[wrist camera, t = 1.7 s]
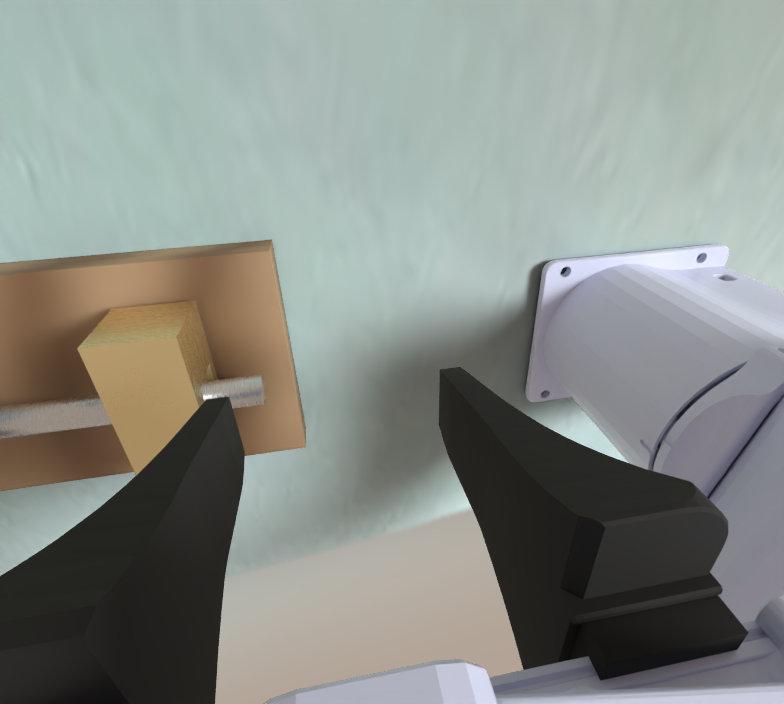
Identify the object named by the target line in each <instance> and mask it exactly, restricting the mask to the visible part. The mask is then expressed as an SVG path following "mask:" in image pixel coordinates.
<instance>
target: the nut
mask: <svg viewBox="0 0 784 704" xmlns="http://www.w3.org/2000/svg"><path fill="white" fill-rule="evenodd" d="M77 349H78V351H79V354H80V356H81V358H82V360H83V362H84V364H85V367H86V369H87V371H88V373H89V375H90V377H91V379H92V382H93V384H94V386H95V388H96V390H97V392H98V394H99V397H100V399H101V401H102V403H103V405H104V407H105V410H106V412H107V414H108V416H109V418H110V420H111V422H112V425H113V427H114V429H115V431H116V433H117V435H118V438H119V440H120V442H121V444H122V446H123V448H124V450H125V453H126V455H127V457H128V459H129V461H130V463H131V466H132V468H133V470H134V472H135V474H136V475H137V474H139V472H140V471H141V470H142V469H143V468H144V467H145V466H146V465H147V464H148V463H149V462H150V461H151V460H152V459H153V458H154V457H155V456H156V455H157V454H158V453H159V452H160V451H161V450H162V449H163V448H164V447H165V446H166V445H167V444H168V443H169V442H170V440H171V439H172V438H173V437H174V436H175V435H176V434H177V433H178V431H179V430H180V429H181V428H182V427H183V426H184V425H185V423H186V422H187V421H188V420H189V419H190V418H191V416H192V415H193V414H194V413H195V412H196V411H197V410H198V408H199V407H200V406H201V405H202V404H203V403H204V402H205V401H204V398H203V395H202V392H201V385H202V382H205V381H213V380H218V377H217V373H216V370H215V366H214V363H213V360H212V356H211V353H210V349H209V346H208V342H207V339H206V335H205V332H204V328H203V325H202V321H201V318H200V315H199V311H198V308H197V304H196V301H186V302H176V303H166V304H156V305H146V306H136V307H126V308H116V309H111V311H110V312H109V313H108V314H107V315H106V316H105V317H104V319H103V320H102V321H101V322H100V323H99V324H98V325H97V326H96V328H95V329H94V330H93V331H92V332H91V333H90V334H89V336H88V337H87V338H86V339H85V340H84V341H83V342H82V343H81V345H80V346H79V347H78V348H77Z"/></svg>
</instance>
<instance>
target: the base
mask: <svg viewBox="0 0 784 704" xmlns="http://www.w3.org/2000/svg"><path fill="white" fill-rule="evenodd" d="M186 301H196V304H197V308H198V311H199V315H200V318H201V321H202V325H203V328H204V332H205V335H206V339H207V342H208V346H209V349H210V353H211V356H212V360H213V363H214V366H215V370H216V373H217V377H218V380H213V381H205V382H202V385H201V392H202V395H203V398H204V401H205V400H206V399H214V398H222V397H229V398H230V401H231V405H232V408H233V412H234V415H235V419H236V423H237V426H238V430H239V433H240V437H241V440H242V444H243V447H244V451H245V456H247V455H254V454H261V453H268V452H275V451H282V450H289V449H296V448H303V447H306V427H305V422H304V416H303V411H302V405H301V399H300V394H299V388H298V383H297V377H296V372H295V366H294V361H293V355H292V349H291V344H290V338H289V333H288V327H287V322H286V316H285V311H284V305H283V299H282V294H281V288H280V283H279V277H278V272H277V266H276V261H275V255H274V249H273V244H272V240H265V241H253V242H242V243H230V244H219V245H207V246H196V247H184V248H173V249H161V250H149V251H138V252H126V253H115V254H103V255H92V256H80V257H68V258H57V259H45V260H34V261H22V262H11V263H0V491H4V490H11V489H18V488H25V487H31V486H38V485H45V484H52V483H59V482H66V481H73V480H80V479H87V478H94V477H101V476H108V475H115V474H122V473H129V472H134V470H133V468H132V466H131V463H130V461H129V459H128V457H127V455H126V453H125V450H124V448H123V446H122V444H121V442H120V440H119V438H118V435H117V433H116V431H115V429H114V427H113V425H112V422H111V420H110V418H109V416H108V414H107V412H106V410H105V407H104V405H103V403H102V401H101V399H100V397H99V394H98V392H97V390H96V388H95V386H94V384H93V382H92V379H91V377H90V375H89V373H88V371H87V369H86V367H85V364H84V362H83V360H82V358H81V356H80V354H79V351H78V349H77V348H78V347H79V346H80V345H81V343H82V342H83V341H84V340H85V339H86V338H87V337H88V336H89V334H90V333H91V332H92V331H93V330H94V329H95V328H96V326H97V325H98V324H99V323H100V322H101V321H102V320H103V319H104V317H105V316H106V315H107V314H108V313H109V312H110V311H111V309H116V308H126V307H136V306H146V305H156V304H166V303H176V302H186Z"/></svg>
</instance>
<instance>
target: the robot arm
mask: <svg viewBox="0 0 784 704" xmlns="http://www.w3.org/2000/svg"><path fill="white" fill-rule="evenodd" d="M699 255H700V257H699V258H698V259H697V257H698V256H699ZM728 255H729V249H728V247H727V246H724V245H722V244H712V245H702V246H692V247H682V248H672V249H662V250H652V251H642V252H632V253H622V254H612V255H602V256H592V257H582V258H572V259H562V260H553V261H550V262H548V263H547V264H546V265H545V266H544V267H543V270H542V276H541V283H540V290H539V298H538V305H537V312H536V319H535V326H534V334H533V341H532V348H531V355H530V362H529V370H528V377H527V384H526V391H525V396H526V397H527V398H528V400H529V401H530V402H541V401H548V400H555V399H563V398H570V397H572V398H573V399H574V400H575V401H576V403H577V404H578V405H579V406H580V407H581V408H582V410H583V411H584V412H585V413H586V414H587V415H588V416H589V418H590V419H591V420H592V421H593V422H594V423H595V424H596V426H597V427H598V428H599V429H600V430H601V431H602V432H603V434H604V435H605V436H606V437H607V438H608V439H609V441H610V442H611V443H612V444H613V445H614V446H615V447H616V449H617V450H618V451H619V452H620V453H621V454H622V455H623V457H624V458H625V459H626V460H627V461H628V462H629V463H627V462H624V461H621V460H618V459H615V458H613V457H610V456H607V455H605V454H602V453H600V452H597V451H595V450H593V449H590V448H588V447H586V446H583V445H581V444H579V443H577V442H574V441H572V440H570V439H568V438H566V437H564V436H562V435H560V434H558V433H556V432H555V431H553V430H551V429H549V428H547V427H545V426H543V425H542V424H540V423H538V422H536V421H535V420H533V419H532V418H530V417H528V416H527V415H525V414H524V413H522V412H520V411H519V410H517V409H516V408H514V407H513V406H511V405H510V404H508V403H507V402H506V401H504V400H503V399H501V398H500V397H499V396H497V395H496V394H495V393H493V392H492V391H491V390H489V389H488V388H487V387H485V386H484V385H483V384H481V383H480V382H479V381H478V380H476V379H475V378H474V377H472V376H471V375H470V374H469V373H467V372H466V371H465V370H463V369H462V368H461V367H457V368H449V369H441V370H440V395H439V426H440V430H441V433H442V437H443V440H444V443H445V447H446V450H447V453H448V455H449V458H450V460H451V462H452V465H453V467H454V469H455V471H456V474H457V476H458V478H459V480H460V483H461V485H462V487H463V489H464V491H465V494H466V496H467V498H468V500H469V502H470V505H471V507H472V509H473V511H474V514H475V516H476V518H477V521H478V523H479V526H480V528H481V531H482V534H483V537H484V539H485V543H486V546H487V549H488V552H489V554H490V558H491V561H492V564H493V567H494V570H495V574H496V577H497V580H498V583H499V586H500V590H501V593H502V596H503V599H504V603H505V606H506V609H507V612H508V616H509V620H510V623H511V627H512V630H513V633H514V637H515V640H516V644H517V648H518V651H519V655H520V659H521V662H522V665H523V669H524V670H521V671H517V672H512V673H508V674H504V675H498V676H494V677H488V674H487V672H486V670H485V669H484V668H482V667H481V666H479V665H476V664H473V663H470V662H467V661H464V660H461V659H457V660H442V661H432V662H427V663H422V664H417V665H413V666H408V667H403V668H398V669H393V670H389V671H384V672H379V673H374V674H369V675H365V676H360V677H356V678H350V679H346V680H341V681H336V682H331V683H326V684H322V685H317V686H313V687H308V688H303V689H298V690H295V691H292V692H289V693H286V694H283V695H280V696H277V697H274V698H272V699H269V700H268V701H267V702H265V703H264V704H784V292H783V291H781V290H779V289H776V288H774V287H771V286H769V285H767V284H764V283H762V282H760V281H757V280H755V279H752V278H750V277H748V276H745V275H743V274H741V273H738V272H736V271H733V270H731V269H729V268H726V267H724V266H725V264H726V261H727V258H728ZM564 267H567V270H566V272H565V273H564V274H560V272H561V270H562V269H563V268H564ZM545 390H546V392H545V393H543V394H541V393H542V392H543V391H545ZM244 457H245V451H244V447H243V444H242V440H241V437H240V433H239V430H238V426H237V423H236V419H235V415H234V412H233V408H232V405H231V401H230V398H229V397H222V398H214V399H206V400H205V402H204V403H203V404H202V405H201V406H200V407H199V408H198V410H197V411H196V412H195V413H194V414H193V415H192V416H191V418H190V419H189V420H188V421H187V422H186V423H185V425H184V426H183V427H182V428H181V429H180V430H179V431H178V433H177V434H176V435H175V436H174V437H173V438H172V439H171V440H170V442H169V443H168V444H167V445H166V446H165V447H164V448H163V449H162V450H161V451H160V452H159V453H158V454H157V455H156V456H155V457H154V458H153V459H152V460H151V461H150V462H149V463H148V464H147V465H146V466H145V467H144V468H143V469H142V470H141V471H140V472H139V474H137V475H136V476H135V477H134V478H133V479H132V480H131V481H130V482H129V483H128V484H127V485H126V486H124V487H123V488H122V489H121V490H120V491H119V492H118V493H116V494H115V495H114V496H113V497H112V498H111V499H109V500H108V501H107V502H106V503H105V504H103V505H102V506H101V507H100V508H98V509H97V510H96V511H95V512H93V513H92V514H91V515H89V516H88V517H87V518H85V519H84V520H83V521H81V522H80V523H79V524H77V525H76V526H75V527H73V528H72V529H71V530H69V531H68V532H67V533H65V534H64V535H63V536H61V537H60V538H58V539H57V540H55V541H54V542H53V543H51V544H50V545H48V546H47V547H45V548H44V549H42V550H41V551H39V552H38V553H36V554H35V555H33V556H32V557H30V558H28V559H27V560H25V561H24V562H22V563H21V564H19V565H18V566H16V567H14V568H13V569H11V570H10V571H8V572H6V573H5V574H3V575H1V576H0V704H215V692H216V676H217V661H218V646H219V634H220V622H221V610H222V599H223V589H224V579H225V572H226V566H227V559H228V554H229V549H230V545H231V540H232V535H233V530H234V525H235V521H236V516H237V511H238V506H239V501H240V496H241V491H242V485H243V474H244Z"/></svg>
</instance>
